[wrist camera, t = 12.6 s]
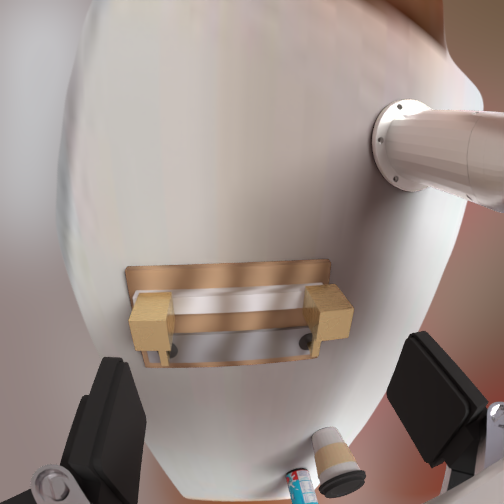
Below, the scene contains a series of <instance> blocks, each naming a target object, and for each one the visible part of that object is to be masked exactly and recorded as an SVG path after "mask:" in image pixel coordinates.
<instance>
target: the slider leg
mask: <svg viewBox="0 0 504 504" xmlns="http://www.w3.org/2000/svg"><path fill="white" fill-rule="evenodd" d="M128 321H129V326H130V330H131V334H132V338H133V342H134V346H135V350H136V351H158V352H159V356H160V361H161V365H162V366H169V363H170V362H169V358H170V351H171V346H172V339H173V332H174V326H175V314H174V307H173V299H172V292H152V293H139V295H138V297H137V300H136V302H135V305H134V307H133V310H132V312H131V315H130V318H129V320H128Z"/></svg>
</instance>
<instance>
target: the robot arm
mask: <svg viewBox="0 0 504 504" xmlns="http://www.w3.org/2000/svg"><path fill="white" fill-rule="evenodd" d="M378 139H379V141H378ZM372 149H373V155H374V159H375V162H376V164H377V167H378V169H379V171H380V172H381V174H382V175H383V177H384V178H385V179H386V180H387V181H388V182H389V183H391V184H392V185H393V186H395V187H397V188H399V189H402V190H405V191H412V192H415V191H421V190H423V189H425V188H427V187H432V188H435V189H438V190H441V191H444V192H447V193H450V194H453V195H455V196H458V197H461V198H463V199H466V200H469V201H472V202H474V203H476V204H479V205H482V206H484V207H487V208H489V209H492V210H494V211H498V212H501V213H504V113H503V112H488V111H468V110H432V109H431V108H429V107H428V106H427V105H425V104H424V103H422V102H420V101H417V100H412V99H403V100H398V101H395V102H393V103H391V104H389V105H388V106H387V107H386V108H384V109H383V111H382V112H381V113H380V115H379V116H378V118H377V120H376V123H375V126H374V129H373V135H372ZM387 398H388V400H389V402H390V403H391V405H392V407H393V408H394V410H395V412H396V413H397V415H398V416H399V418H400V420H401V422H402V423H403V425H404V427H405V428H406V430H407V432H408V434H409V435H410V437H411V439H412V440H413V442H414V444H415V445H416V447H417V449H418V451H419V453H420V454H421V456H422V458H423V459H424V461H425V462H426V463H429V464H430V466H431V468H433V467H435V466H437V465H439V464H442V463H443V462H444V461H445V462H446V464H447V467H446V472H445V476H444V481H443V485H442V490H441V493H440V495H439V496H437V497H436V498H434V499H431V500H429V501H427V502H425V503H424V504H504V402H495V403H493V404H491V405H490V407H489V408H488V409H487V408H486V405H487V404H488V401H487V399H486V398H485V397H484V396H483V395H482V394H481V392H480V391H479V390H478V389H477V388H476V387H475V385H474V384H473V383H472V382H471V381H470V379H469V378H468V377H467V376H466V375H465V374H464V372H462V370H461V369H460V368H459V367H458V366H457V365H456V363H455V362H454V361H453V360H452V359H451V358H450V357H449V356H448V354H447V353H446V352H445V351H444V350H443V349H442V348H441V347H440V346H439V345H438V343H437V342H435V340H434V339H433V338H432V337H431V336H430V335H429V334H428V333H427V332H426V331H421V332H416V333H412V334H410V335H409V337H408V338H407V339H406V340H405V343H404V346H403V349H402V352H401V354H400V357H399V360H398V363H397V365H396V368H395V371H394V373H393V376H392V378H391V381H390V383H389V386H388V388H387ZM145 430H146V415H145V412H144V410H143V407H142V404H141V401H140V398H139V395H138V392H137V389H136V386H135V383H134V380H133V377H132V374H131V371H130V367H129V364H128V363H127V362H123V360H122V358H115V357H104V358H103V359H102V361H101V364H100V366H99V369H98V372H97V375H96V377H95V380H94V383H93V385H92V388H91V391H90V394H89V395H84V396H83V397H82V399H81V401H80V404H79V407H78V409H77V412H76V415H75V418H74V421H73V424H72V427H71V430H70V433H69V436H68V439H67V442H66V446H65V449H64V452H63V456H62V459H61V463H60V466H59V465H55V464H50V465H45V466H42V467H40V468H39V469H37V471H36V472H35V473H34V474H33V476H32V478H31V489H29V490H27V491H25V492H23V493H21V494H19V495H16V496H14V497H12V498H10V499H8V500H6V501H3V502H1V503H0V504H137V503H138V491H139V481H140V470H141V462H142V453H143V445H144V437H145Z"/></svg>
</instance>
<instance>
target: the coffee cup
mask: <svg viewBox="0 0 504 504" xmlns="http://www.w3.org/2000/svg"><path fill="white" fill-rule="evenodd" d="M312 443H313V448H314V453H315V462H316V467H317V473H318V478H319V479H320V484H321V485H320V487H319V491H320V493H321V494H323V495H325V497H326V498H336V497H341V496H344V495H347V494H350V493H352V492H354V491H356V490H358V489H359V488H360V487H362V486H363V485H364V483H365V481H364V479H365V478H366V475H365V472H364V471H362V470H360V468H359V467H358V465H357V462H356V460H355V458H354V456H353V455H352V453H351V451H350V449H349V448H348V446H347V444H346V443H345V442H344V440H343V439H342V437H341V435H340V433H339V432H338V430H337V428H335V427H327V428H323V429H320V430H318V431H317V432H315V433H314V434H313V436H312Z"/></svg>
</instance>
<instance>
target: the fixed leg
mask: <svg viewBox="0 0 504 504" xmlns="http://www.w3.org/2000/svg"><path fill="white" fill-rule="evenodd" d="M353 312H354V308H353V306H352V305H351V304H350V302H349V301H348V300H347V298H346V297H345V296H344V295H343V293H342V292H341V291H340V289H339V288H338V287H337V286H336V284H328V285H313V286H305V292H304V301H303V311H302V314H303V316H304V318H305V320H306V322H307V324H308V327H309V329H310V331H311V333H312V335H313V336H312V342H308V343H307V346H308V349H309V351H310V355H311V357H316V356H319V350H320V344H321V341H327V340H335V339H342V338H348V336H349V331H350V327H351V322H352V317H353Z"/></svg>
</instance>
